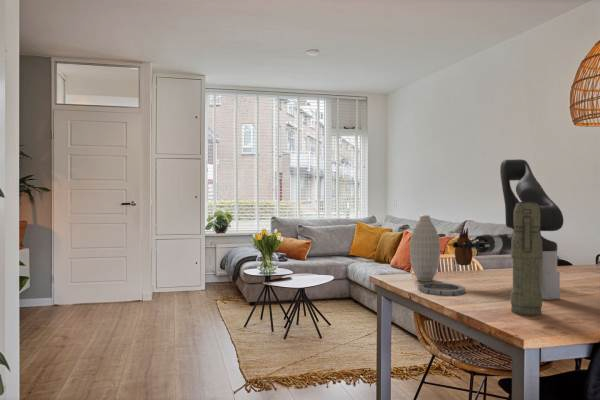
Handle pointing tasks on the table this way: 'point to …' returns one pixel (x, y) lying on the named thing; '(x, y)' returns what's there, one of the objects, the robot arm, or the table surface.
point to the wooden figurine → (463, 254)
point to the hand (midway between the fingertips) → (458, 245)
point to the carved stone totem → (526, 260)
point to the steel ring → (426, 286)
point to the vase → (424, 249)
